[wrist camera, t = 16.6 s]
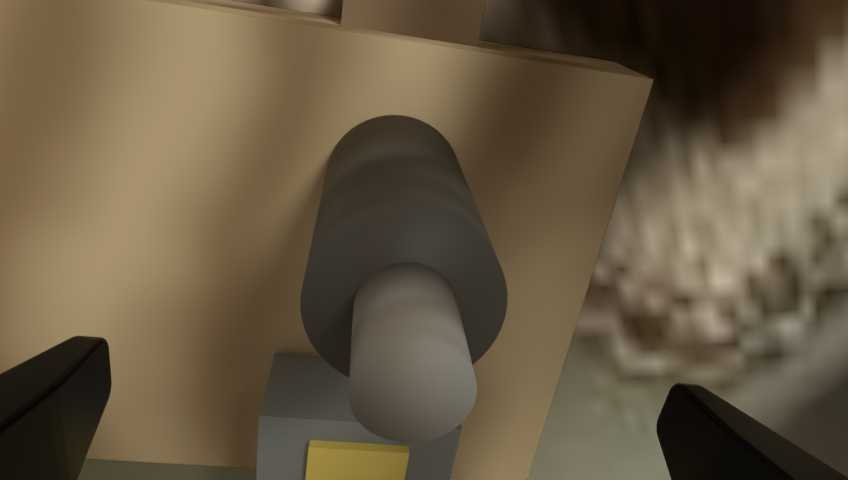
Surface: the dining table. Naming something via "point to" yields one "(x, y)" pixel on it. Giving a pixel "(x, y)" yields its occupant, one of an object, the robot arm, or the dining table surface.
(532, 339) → the wooden board
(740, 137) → the dining table surface
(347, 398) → the stud finder
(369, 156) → the bottle
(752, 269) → the dining table surface
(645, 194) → the dining table surface
